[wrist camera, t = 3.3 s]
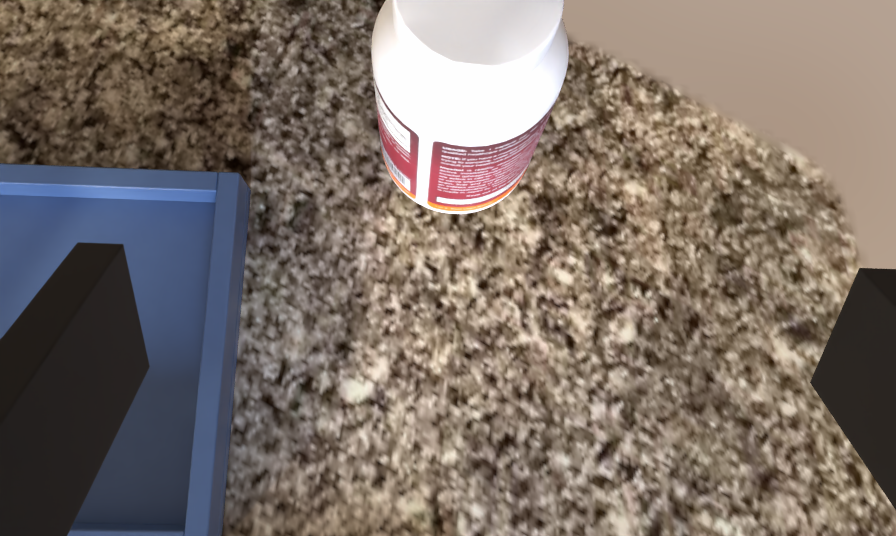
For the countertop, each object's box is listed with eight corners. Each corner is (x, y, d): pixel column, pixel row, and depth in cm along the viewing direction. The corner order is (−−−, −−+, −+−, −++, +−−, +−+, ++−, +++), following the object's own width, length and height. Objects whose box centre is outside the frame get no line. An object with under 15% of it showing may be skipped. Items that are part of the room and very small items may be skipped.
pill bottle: (551, 113, 31) (629, -56, 20) (494, 242, 29) (545, 135, 18) (417, 56, 31) (423, -143, 20) (355, 180, 29) (325, 40, 19)
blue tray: (251, 189, 29) (239, 171, 27) (221, 545, 26) (205, 556, 24) (-98, 176, 28) (-137, 157, 26) (-168, 540, 26) (-218, 551, 23)
